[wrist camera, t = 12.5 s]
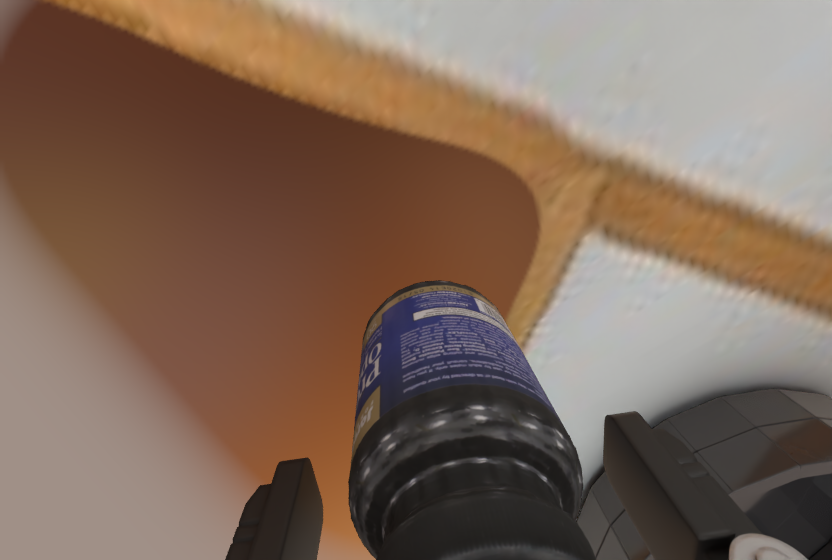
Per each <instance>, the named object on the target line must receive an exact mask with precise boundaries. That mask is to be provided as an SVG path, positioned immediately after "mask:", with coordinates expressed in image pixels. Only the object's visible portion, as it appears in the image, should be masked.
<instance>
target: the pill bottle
mask: <svg viewBox="0 0 832 560" xmlns="http://www.w3.org/2000/svg"><path fill="white" fill-rule="evenodd" d="M348 483H349V507H350V512H351V519H352V521H353V524H354V527H355V529H356V531H357V533H358V536H359V538H360V539H361V541H362V543H363V544H364V546H365V547H366V548H367V550H368V551H369V552H370V554H371V555H372V556H373V557H374V558H375V559H376V560H596V557H595V554H594V552H593V549H592V547H591V545H590V543H589V541H588V539H587V538H586V536H585V534H584V532H583V531H582V529H581V528H580V526H579V525H578V523H577V522H575V520H576V518H577V516H578V513H579V509H580V504H581V497H582V491H583V477H582V469H581V465H580V461H579V459H578V454H577V451H576V448H575V447H574V445H573V442H572V441H571V438H570V436H569V435H568V433H567V431H566V430H565V428H564V426H563V424H562V422H561V421H560V419H559V417H558V415H557V413H556V412H555V410H554V408H553V406H552V405H551V403H550V401H549V399H548V398H547V396H546V394H545V392H544V390H543V389H542V387H541V385H540V383H539V381H538V380H537V378H536V376H535V374H534V372H533V371H532V369H531V367H530V365H529V363H528V362H527V360H526V358H525V356H524V354H523V353H522V351H521V349H520V347H519V345H518V343H517V342H516V340H515V338H514V336H513V335H512V333H511V331H510V330H509V328H508V326H507V324H506V323H505V321H504V319H503V317H502V315H501V314H500V312H499V311H498V309H497V308H496V307H495V306H494V305H493V304H492V303H491V302H490V301H489V300H488V299H487V298H485V297H484V296H483V295H482V294H480V293H479V292H477V291H476V290H475V289H473V288H471V287H468V286H466V285H460V284H457V283H453V282H450V281H425V282H420V283H416V284H413V285H411V286H408V287H405V288H403V289H401V290H399V291H397V292H396V293H394V294H393V295H392V296H391V297H389V298H388V299H387V300H386V301H385V302H384V303H383V304H382V305H381V306H380V307H379V308H378V309H377V310H376V311H375V312H374V314H373V315H372V316H371V318H370V320H369V321H368V324H367V327H366V331H365V333H364V337H363V346H362V354H361V364H360V374H359V384H358V394H357V405H356V416H355V427H354V437H353V447H352V460H351V470H350V477H349V482H348Z"/></svg>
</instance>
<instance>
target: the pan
mask: <svg viewBox="0 0 832 560" xmlns="http://www.w3.org/2000/svg"><path fill="white" fill-rule="evenodd" d="M656 429H664V430H665V431H667V432H668V433H670V434H671V435H673V436H674V437H676V438H677V439H679V440H681V441H682V442H683V443H684V444H685V445H686V446H687V448H688V449H689V450H690V451H691V452H692V453H693V454H694V456H695V457H696V458H697V461H698V462H700V463H701V464H702V465H703V466H704V467H705V468H706V469H707V471H708V472H709V475H710V476H713V478H714V479H715V480H716V481H717V482H718V483H719V484H720V486H721V487H722V488H723V489H724V490H725V491H726V493H727V494H728V495H729V496H730V497H731V498H732V499H733V501H734V502H735V503H736V504H737V505H738V506H739V508H740V509H741V510H742V511H743V512H744V513H745V514H746V516H747V517H748V518H749V519H750V520H751V521H752V522H753V524H754V525H755V526H756V527H757V528H758V529H759V530H760V531H761V533H762V534H763V535H766V536H770V537H773V538H775V539H778V540H780V541H782V542H784V543H786V544H788V545H790V546H791V547H793V548H794V549H796V550H797V551H798V552H800V553H801V554H802V555H803V556H804V557H805V558H807V559H808V560H832V398H830V397H828V396H826V395H823V394H816V393H808V392H800V391H792V390H784V389H774V388H773V389H766V390H760V391H754V392H747V393H741V394H735V395H728V396H722V397H718V398H716V399H713V400H711V401H708V402H706V403H704V404H701V405H699V406H696V407H694V408H691V409H689V410H687V411H684V412H682V413H679V414H677V415H674V416H672V417H670V418H667V419H666V420H664V421H663V422H661V423H660V424H659V425H657V426H656V427H654V428H653V429H652V430H656ZM577 523H578V525H579V526H580V528H581V529H582V531H583V532H584V534H585V536H586V538H587V539H588V541H589V543H590V545H591V547H592V549H593V552H594V554H595V557H596V560H654V558H653V557H652V555H651V553H650V551H649V550H648V548H647V546H646V544H645V543H644V541H643V539H642V538H641V536H640V534H639V532H638V531H637V529H636V527H635V525H634V524H633V522H632V520H631V519H630V517H629V515H628V513H627V512H626V510H625V508H624V506H623V505H622V503H621V501H620V500H619V498H618V496H617V494H616V493H615V491H614V489H613V487H612V486H611V484H610V482H609V480H608V477H607V475H606V471H604V473H603V474H602V475H601V476H600V477H599V478H598V480H597V481H596V482H595V483H594V484H593V486H592V487H591V489H590V491H589V493H588V496H587V498H586V501H585V503H584V506H583V508H582V510H581V513H580V515H579V518H578V520H577Z"/></svg>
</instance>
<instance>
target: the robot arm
mask: <svg viewBox="0 0 832 560" xmlns="http://www.w3.org/2000/svg"><path fill="white" fill-rule="evenodd" d="M603 462H604V467H605V471H606V475H607V477H608V480H609V482H610V484H611V486H612V487H613V489H614V491H615V493H616V494H617V496H618V498H619V500H620V501H621V503H622V505H623V506H624V508H625V510H626V512H627V513H628V515H629V517H630V519H631V520H632V522H633V524H634V525H635V527H636V529H637V531H638V532H639V534H640V536H641V538H642V539H643V541H644V543H645V544H646V546H647V548H648V550H649V551H650V553H651V555H652V557H653V558H654V560H808V559H807V558H805V557H804V556H803V555H802V554H801V553H800V552H798V551H797V550H796V549H794V548H793V547H791V546H790V545H788V544H786V543H784V542H782V541H780V540H778V539H775V538H773V537H770V536H766V535H763V534H762V533H761V531H760V530H759V529H758V528H757V527H756V526H755V525H754V524H753V522H752V521H751V520H750V519H749V518H748V517H747V516H746V514H745V513H744V512H743V511H742V510H741V509H740V508H739V506H738V505H737V504H736V503H735V502H734V501H733V499H732V498H731V497H730V496H729V495H728V494H727V493H726V491H725V490H724V489H723V488H722V487H721V486H720V484H719V483H718V482H717V481H716V480H715V479H714V478H713V476H710V475H709V472H708V471H707V469H706V468H705V467H704V466H703V465H702V464H701V463H700V462H698V461H697V458H696V457H695V456H694V454H693V453H692V452H691V451H690V450H689V449H688V448H687V446H686V445H685V444H684V443H683V442H682V441H681V440H679V439H677V438H676V437H674V436H673V435H671V434H670V433H668V432H667V431H665V430H664V429H656V430H652V429H651V428H650V426H649V425H648V424H647V423H646V421H645V420H644V419H643V418H642V416H641V415H640V414H639V413H638V412H635V411H634V412H627V413H620V414H613V415H607V416H606V417H605V423H604V450H603ZM322 524H323V504H322V499H321V495H320V492H319V488H318V485H317V482H316V478H315V474H314V471H313V468H312V464H311V462H310V459H309V458H302V459H294V460H287V461H281V462H279V464H278V465H277V468H276V471H275V474H274V477H273V480H272V483H271V484H267V485H260V486H259V487H258V489H257V490H256V492H255V493H254V494H253V495H252V496H251V498H250V499H249V500H248V502H247V503H246V505H245V507H244V510H243V513H242V516H241V518H240V521H239V527H237V529H236V532H235V535H234V537H233V543H232V544H231V545H230V548H229V551H228V554H227V556H226V559H225V560H317V554H318V548H319V542H320V536H321V530H322Z"/></svg>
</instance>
